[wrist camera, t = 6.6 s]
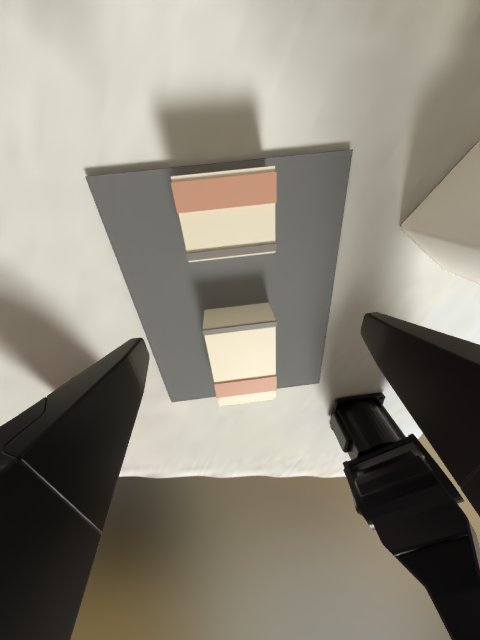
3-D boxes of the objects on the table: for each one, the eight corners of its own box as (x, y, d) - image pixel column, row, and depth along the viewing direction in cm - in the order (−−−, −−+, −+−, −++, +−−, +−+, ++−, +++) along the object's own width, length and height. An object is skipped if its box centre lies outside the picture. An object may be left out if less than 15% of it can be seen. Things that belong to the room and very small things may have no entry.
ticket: (269, 302, 21) (276, 320, 19) (270, 377, 27) (276, 400, 24) (203, 309, 21) (202, 329, 18) (218, 384, 26) (218, 407, 24)
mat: (349, 150, 16) (352, 149, 16) (317, 380, 28) (319, 383, 28) (88, 176, 15) (85, 176, 15) (172, 399, 28) (171, 402, 27)
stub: (266, 167, 16) (276, 165, 13) (267, 242, 18) (276, 253, 16) (177, 176, 15) (169, 176, 13) (192, 250, 18) (187, 263, 15)
